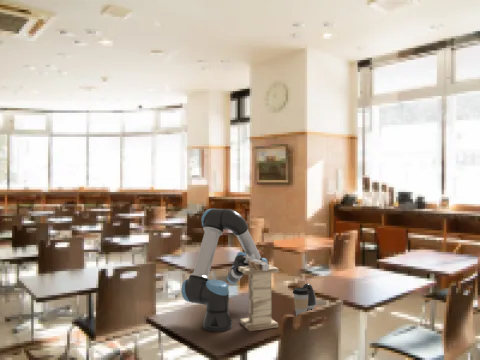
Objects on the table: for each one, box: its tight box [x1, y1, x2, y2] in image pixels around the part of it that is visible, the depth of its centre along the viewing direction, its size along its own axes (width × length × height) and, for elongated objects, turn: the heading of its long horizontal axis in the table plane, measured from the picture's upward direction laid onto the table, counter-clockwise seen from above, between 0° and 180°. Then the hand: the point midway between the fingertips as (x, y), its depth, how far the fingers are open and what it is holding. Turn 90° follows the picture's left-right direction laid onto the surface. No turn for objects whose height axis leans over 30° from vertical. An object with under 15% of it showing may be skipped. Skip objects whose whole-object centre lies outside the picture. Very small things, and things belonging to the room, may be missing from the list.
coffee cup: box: [292, 287, 309, 317], centre depth 229 cm, size 9×9×15 cm
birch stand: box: [238, 260, 280, 332], centre depth 214 cm, size 14×18×33 cm
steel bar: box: [243, 256, 269, 271], centre depth 219 cm, size 28×3×3 cm, turn 20°
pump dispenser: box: [301, 283, 317, 311], centre depth 242 cm, size 10×10×15 cm
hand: (251, 256), depth 225 cm, fingers open, 3 cm apart
